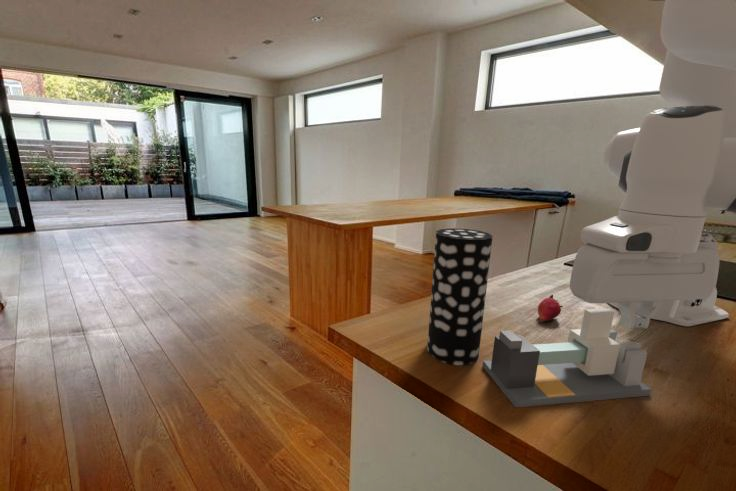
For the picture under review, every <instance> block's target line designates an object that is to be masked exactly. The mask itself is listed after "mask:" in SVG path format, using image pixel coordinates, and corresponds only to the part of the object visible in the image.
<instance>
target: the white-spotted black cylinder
mask: <svg viewBox="0 0 736 491" xmlns="http://www.w3.org/2000/svg"><path fill="white" fill-rule="evenodd" d="M492 242H493V235H492V234H491V233H489V232H487V231H482V230H477V229H470V228H469V229H468V228H457V227H454V228H441V229H438V230H436V231H435V241H434V243H435V244H434V256H433V267H432V268H433V269H432V283H431V295H430V305H429V306H430V308H429V319H428V320H429V321H428V322H429V323H428V335H427V352H428V353H429V355H431V357H432V358H433V359H436V360H437V361H439V362H441V363H444V364H449V365H453V366H466V365H470V364H474V363H475V362H476V361H478V358H479V357H480V355H479V354H480V347H481V339H482V330H483V321H484V313H485V305H486V297H487V296H486V295H487V286H488V280H489V279H488V278H489V270H490V262H491V255H492V254H491V252H492Z"/></svg>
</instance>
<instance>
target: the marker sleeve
mask: <svg viewBox="0 0 736 491" xmlns="http://www.w3.org/2000/svg"><path fill="white" fill-rule="evenodd" d="M614 315H615V311H614V310H611V309H609V308H589V309H588V308H587V309H584V312H583V318H582V322H581V328H576V329H574V328H573V329H569V332H568V334H569V335H568V340H567V342H580V343H581V344H583V345H584V346H586V347H587V348H588V352H587V357H586V362H576V363H573V364H574V365H576V366H577V367H578V368H579V369H581V370H582V371H583V372H584V373H586V374H587V375H588V376H591V375H604V374H614V371H615V366H616V362H617V357H618V353H619V349H620V344H619V343H620V342H617V341H614V340H613V339H611V338H609V335H610V331H611V329H612V325H613V320H614V318H615V317H614Z"/></svg>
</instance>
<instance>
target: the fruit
mask: <svg viewBox="0 0 736 491" xmlns="http://www.w3.org/2000/svg"><path fill="white" fill-rule="evenodd" d="M558 301H559V300H558V299H555V298H554V294H551V295H550V296H548V297H545V298H544V299H542V300H541V301H540V303H539V304H538V306H537V312H538V318H539V321H540V322H541V323H542V322H543V323H544V322H549V321H551V320H553V319H556V318H557V317H558V316H559V315H560V314H561V312H562V308H564V307H563V305H561V304H560V302H558Z"/></svg>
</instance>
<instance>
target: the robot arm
mask: <svg viewBox="0 0 736 491" xmlns="http://www.w3.org/2000/svg"><path fill="white" fill-rule="evenodd" d="M649 1H652V2H653V1H654V2H660V1H663V2H664V4H663V8H662V15H661V20H660V21H661V22H660V33H659V34H660V39H661V42H662V44H663V46H664V47H665V48H666V54H665V59H664V64H663V68H662V73H661V78H660V83H659V86H658V87H659V88H658V89H659V94H660V96H661V98H662V99H663V100H664V101H666V102H668V103H670V104H672V105H675V106H674V107H668V108H667V107H665V108H664V107H663V108H659V109H658V108H657V109H654V110H653V111H651V112H649V113H647V114H645V116H644V118H643V121H642V123H641V125H640V127H636V128H631V129H626V130H623V131H618V133H616V134H614V136H613V137H611V139H610V140H609V141H608V143H607V145H606V147H605V149H604V153H603V162H604V166H605V169H606V170H607V172H609V173H610V174H611V175H612V176H613V177H614V178H616V179H617V180H618V187H619V188H620V189H621V191H623V192H624V193H625V196H624V197H623V200H622V202H620V205H619V208H618V214H617V215H615V216H611V217H609V218H607V219H605V220H602V221H599V222H596V223H593V224H590V225H587V226H585V227H583V228H582V230H581V233H580V239H581V241H582V242H583V243H585V244H583V245H582V246H580V247H579V249H578V250H577V252H576V255H575V258H574V261H573V265H572V270H571V274H570V279H569V290H570V291H571V293H572V295H573V296H575V297H577V298H578V299H579V300H582V301H584V302H586V303H589V304H606V303H607V304H609V305H611V306H612V307H614V308H617V309H618V310H619V313H620V319H619V325H620V326H621V327H623V328H624V329H627V330H639V329H648V328H649V324H650V321H651V319H652V320H656V321H662V322H667V323H670V324H674V325H677V326H683V327H692V326H697V325H702V324H707V323H711V322H716V321H720V320H724V319H728V318H729V316H730V312H729V313H728V311H726V310H725V309H723V308H720V307H718V306H716V301H717V295H718V290H717V287H716V286H717V283H718V282H717V281H718V276H719V269H720V254H719V251H718V248H719V243H718V242H717V240H716V239H715V237H714V236H713V235H712V234H711V233H706V232H703V230H704V225H705V222H706V218H707V214H708V210H720V211H721V210H723V211H725V212H728V213H729V212H730V213H736V0H649Z"/></svg>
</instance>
